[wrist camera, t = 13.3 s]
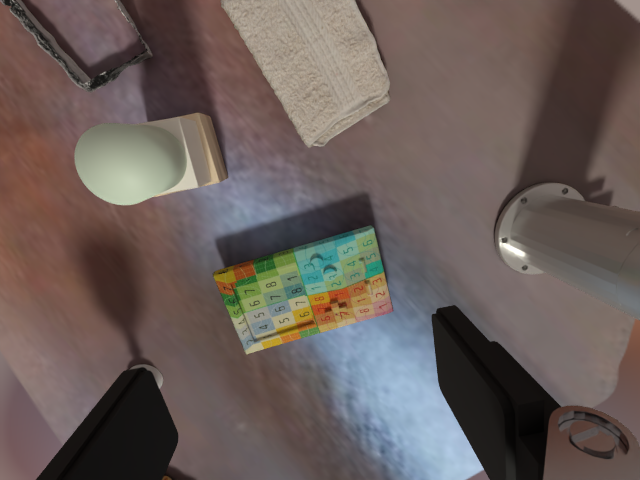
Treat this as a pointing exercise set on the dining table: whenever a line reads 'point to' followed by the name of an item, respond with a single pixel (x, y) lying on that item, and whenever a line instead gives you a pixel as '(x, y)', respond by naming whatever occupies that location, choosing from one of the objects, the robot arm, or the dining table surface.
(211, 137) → the oak base block
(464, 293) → the dining table surface
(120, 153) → the sage round block
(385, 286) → the puzzle game
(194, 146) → the cream middle block
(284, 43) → the washcloth
